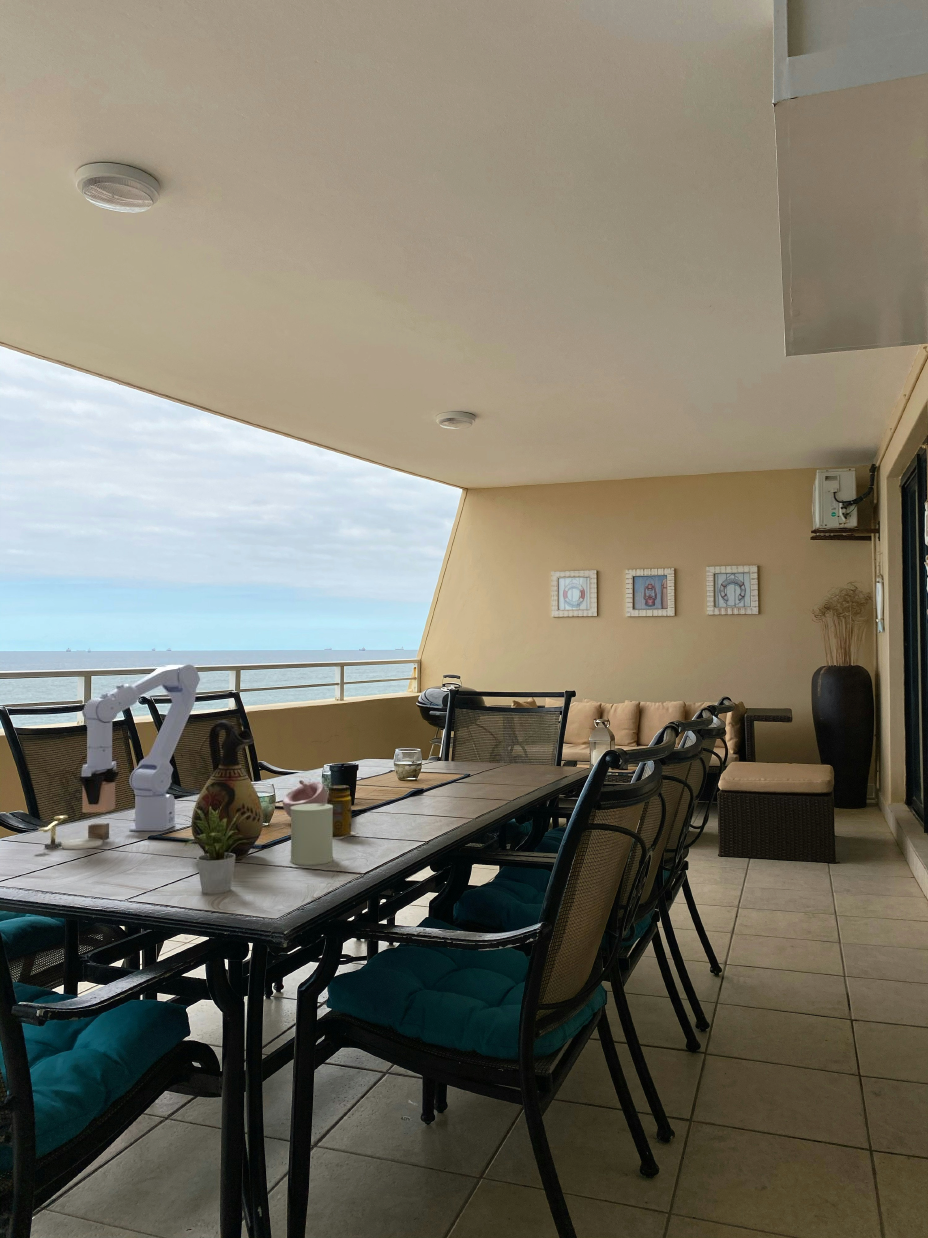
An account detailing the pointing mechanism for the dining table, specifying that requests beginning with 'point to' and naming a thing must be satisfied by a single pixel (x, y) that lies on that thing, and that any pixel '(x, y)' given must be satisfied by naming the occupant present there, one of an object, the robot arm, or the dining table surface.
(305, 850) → the can
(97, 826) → the block
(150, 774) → the robot arm
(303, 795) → the mortar and pestle
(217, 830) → the house plant
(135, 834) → the dining table surface
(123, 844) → the dining table surface
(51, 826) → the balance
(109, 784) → the peach wooden cube
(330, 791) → the condiment
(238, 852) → the ceramic jug
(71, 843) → the saucer
